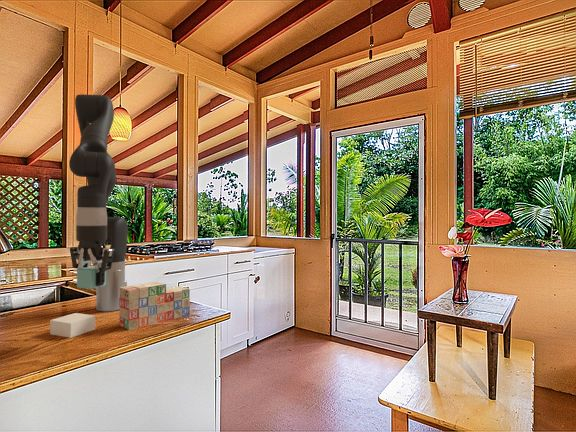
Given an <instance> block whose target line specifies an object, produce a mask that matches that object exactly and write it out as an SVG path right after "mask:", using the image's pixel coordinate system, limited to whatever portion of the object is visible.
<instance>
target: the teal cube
mask: <svg viewBox="0 0 576 432" xmlns="http://www.w3.org/2000/svg"><path fill="white" fill-rule="evenodd" d="M96 273H97V272H96V270H95V267H94V265H92V266H89V267H87V268H81V269H77V268H76V288H78V289H79V288H80V289H87V290H88V289H89V290H92V289H96V288H97V287H101V286H105V285H106V271H105V282H104V284H103V285H101V286H96Z"/></svg>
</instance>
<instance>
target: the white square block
mask: <svg viewBox="0 0 576 432" xmlns="http://www.w3.org/2000/svg"><path fill="white" fill-rule="evenodd" d="M94 330H96V315H94V314H93V315H92V314H87V313H85V314H84V313H79V312H74V313H71V314H67V315H64V316H59V317H57V318H53V319H50V320H49V334H50V335H51V336H56V337H57V336H58V337H63V338H70V339H71V338H74V337H77V336H80V335H83V334H85V333H88V332H91V331H94Z"/></svg>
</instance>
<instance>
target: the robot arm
mask: <svg viewBox="0 0 576 432" xmlns="http://www.w3.org/2000/svg"><path fill="white" fill-rule="evenodd" d="M74 107H75V113H76V118H77V123H78V126H79V127H78V128H79V132H80V140H79V144H78V146H77V147H76V148H75V149H74V150H73V152H72V154H71V155H70V158H69V163H68V164H69V165H68V167H69V169H70V171H71V173H72V174H74V176H76V177H80V178H86V181H87V185H83V186H80V187H78V188H77V194H76V196H77V205H76V206H77V207H76V208H77V209H76V216H75V221H76V223H75V225H76V227H75V239H76V241H77V242H78V245H77V246H72V247H69V253H70V259H71V264H72V268H73V269H76V270H77V269H81V268H87V267H90V264H92V266H93V267H95V270H96V272H97V273H96V286H101V285H103V284H104V282H105V271H106V285H105V286H101V287H97V288H95V289H96V291H95V293H96V294H95V295H96V296H95V300H96V301H95V306H96V307H95V308H96V309H95V310H96V311H98V312H114V311H120V307H119V297H120V287H125V286H128V281H127V280H126V255H127V248H128V234H129V227H128V226H129V225H128V222H127V220H126V219H125V218H124V217H119V216H118V217H117V216H116V217H115V216H111V217H110V216H108V212H107V203H108V199H109V198H110V196H111V194H112V192H113V190H114V188H115V187H116V184H117V174H116V172H117V171H116V164H115V161H114V160H113V157H112V155H110V154H109V152H108V139H109V137H108V136H109V135H110V131H111V129H112V125H113V122H114V118H115V110H114V104H113V100H112V99H111V98H110V97H109V96H108V95H103V94H81V93H79V94H77V95H76V96H75V98H74ZM106 243H110V247H109V248H108V247H107V246H106ZM77 262H78V263H77Z"/></svg>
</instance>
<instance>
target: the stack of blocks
mask: <svg viewBox="0 0 576 432" xmlns="http://www.w3.org/2000/svg"><path fill="white" fill-rule="evenodd" d="M190 290H191V289H190V288H188V287H183V286H174V287H168V288H167V284H166V283H164V282H159V281H151V282H144V283H140V284H133V285H132V284H131V285H127V286H125V287H120V297H119V307H120V309H119V327H122V328H124V329H126V330H128V331H131V330H136V329H140V328H144V327H148V326H151V325H152V326H153V325H155V324H159V323H163V322H166V321H171V320H175V319H179V318H183V317H186V316H190V306H191V296H190Z"/></svg>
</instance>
